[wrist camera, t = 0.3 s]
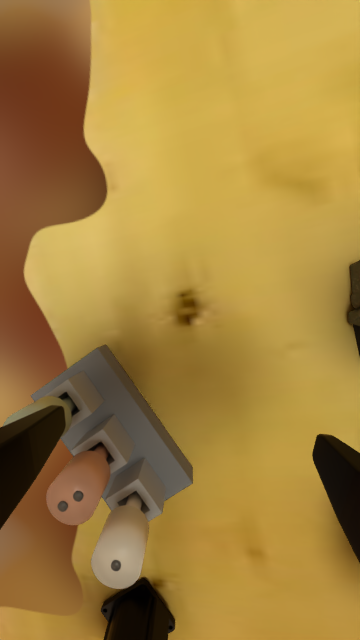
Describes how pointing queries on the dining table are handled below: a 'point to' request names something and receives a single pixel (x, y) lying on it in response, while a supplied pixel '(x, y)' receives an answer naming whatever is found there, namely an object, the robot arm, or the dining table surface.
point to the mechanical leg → (355, 300)
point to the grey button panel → (120, 432)
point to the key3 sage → (44, 403)
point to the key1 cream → (122, 545)
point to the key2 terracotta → (79, 486)
